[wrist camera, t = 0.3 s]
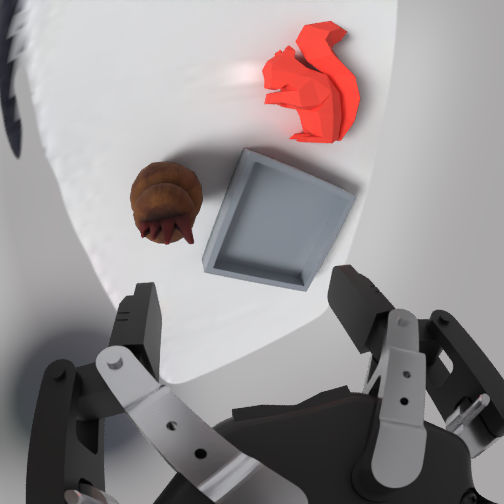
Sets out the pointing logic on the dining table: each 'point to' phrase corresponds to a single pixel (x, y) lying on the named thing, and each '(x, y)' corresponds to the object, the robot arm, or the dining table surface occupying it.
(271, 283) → the slate dish
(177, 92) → the dining table surface
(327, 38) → the animal figurine
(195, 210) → the wooden figurine
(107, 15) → the dining table surface
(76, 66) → the dining table surface
